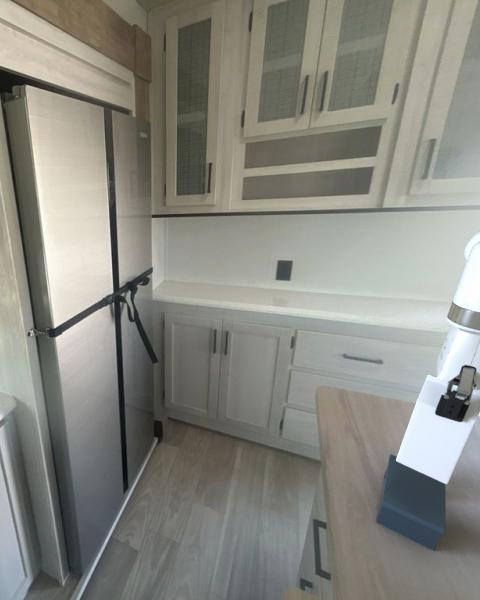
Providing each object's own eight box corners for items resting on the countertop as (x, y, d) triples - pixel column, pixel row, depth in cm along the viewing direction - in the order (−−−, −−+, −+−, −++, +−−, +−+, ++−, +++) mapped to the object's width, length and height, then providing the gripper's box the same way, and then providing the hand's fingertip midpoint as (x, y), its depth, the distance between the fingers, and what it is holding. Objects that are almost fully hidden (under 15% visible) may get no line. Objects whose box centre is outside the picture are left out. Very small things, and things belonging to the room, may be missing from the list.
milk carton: (447, 485, 60) (484, 402, 53) (395, 461, 65) (423, 382, 58) (454, 463, 64) (490, 382, 57) (404, 442, 69) (431, 366, 62)
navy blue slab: (383, 472, 77) (390, 453, 75) (436, 495, 71) (445, 475, 69) (374, 521, 67) (382, 500, 65) (435, 551, 62) (445, 530, 59)
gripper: (448, 294, 60) (421, 374, 67) (448, 331, 50) (415, 422, 56) (514, 303, 55) (477, 388, 62) (530, 346, 44) (483, 444, 51)
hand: (448, 404), depth 59 cm, fingers closed on milk carton, 7 cm apart
